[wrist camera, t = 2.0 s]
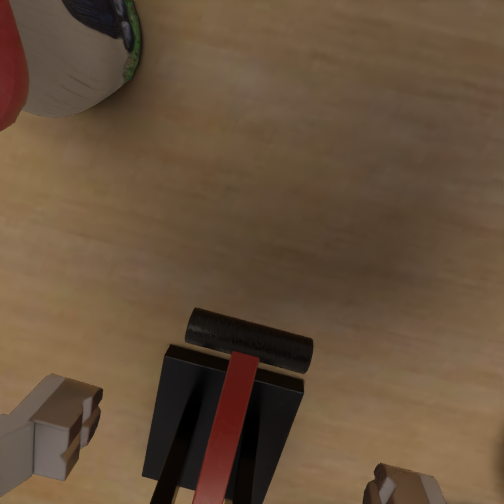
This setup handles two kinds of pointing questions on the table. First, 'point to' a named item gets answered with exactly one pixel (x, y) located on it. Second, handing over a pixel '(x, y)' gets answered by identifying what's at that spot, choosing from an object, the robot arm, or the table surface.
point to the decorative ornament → (64, 55)
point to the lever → (238, 385)
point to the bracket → (201, 421)
